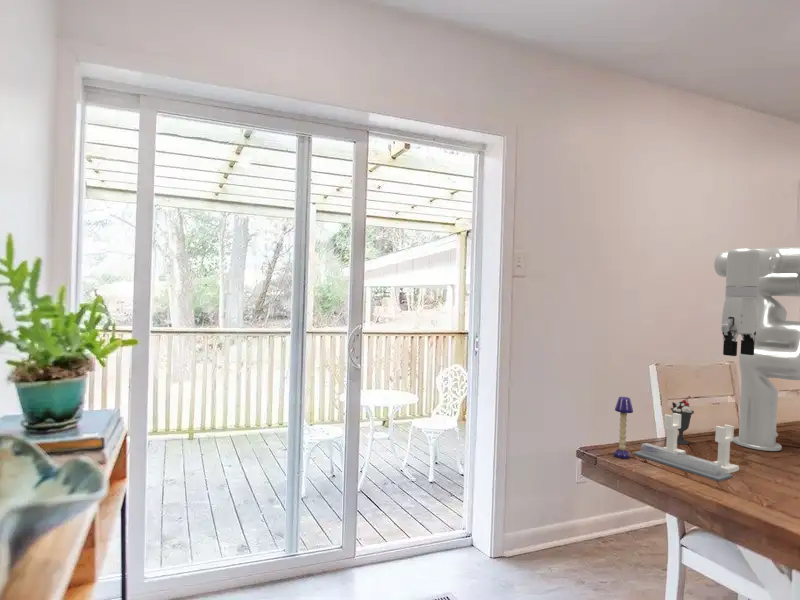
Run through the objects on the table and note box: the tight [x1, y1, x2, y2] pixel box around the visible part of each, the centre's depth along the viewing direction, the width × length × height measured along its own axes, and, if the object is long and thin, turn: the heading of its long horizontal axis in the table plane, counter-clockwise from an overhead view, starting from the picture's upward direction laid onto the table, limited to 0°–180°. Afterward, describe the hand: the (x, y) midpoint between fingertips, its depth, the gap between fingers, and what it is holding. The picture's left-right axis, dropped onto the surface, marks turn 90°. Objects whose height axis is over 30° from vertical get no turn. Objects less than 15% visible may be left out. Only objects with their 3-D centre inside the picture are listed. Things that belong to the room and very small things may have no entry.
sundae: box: [670, 395, 695, 445], centre depth 158 cm, size 7×7×15 cm
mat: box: [632, 450, 734, 482], centre depth 135 cm, size 7×23×1 cm, turn 32°
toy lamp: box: [613, 396, 634, 459], centre depth 141 cm, size 5×5×17 cm
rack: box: [662, 412, 740, 474], centre depth 139 cm, size 6×19×12 cm, turn 32°
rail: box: [640, 442, 721, 476], centre depth 135 cm, size 2×20×2 cm, turn 32°
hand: (738, 355), depth 138 cm, fingers open, 9 cm apart
